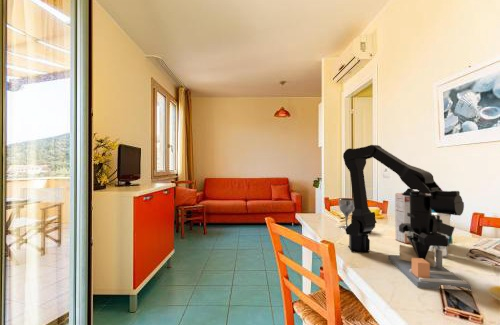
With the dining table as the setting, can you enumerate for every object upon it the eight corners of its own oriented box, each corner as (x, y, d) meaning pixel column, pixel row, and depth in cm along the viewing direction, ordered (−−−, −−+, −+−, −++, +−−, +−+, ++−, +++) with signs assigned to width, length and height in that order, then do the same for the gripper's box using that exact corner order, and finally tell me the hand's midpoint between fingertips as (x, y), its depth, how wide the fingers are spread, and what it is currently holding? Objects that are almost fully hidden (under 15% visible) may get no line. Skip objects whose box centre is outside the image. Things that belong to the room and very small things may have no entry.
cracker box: (420, 238, 117) (420, 192, 117) (432, 242, 111) (432, 193, 111) (394, 239, 114) (394, 192, 114) (405, 244, 108) (405, 194, 108)
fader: (417, 277, 72) (417, 262, 72) (411, 272, 75) (411, 257, 75) (429, 278, 71) (429, 263, 71) (422, 272, 75) (422, 258, 75)
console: (417, 287, 70) (417, 261, 70) (388, 259, 90) (388, 239, 90) (471, 291, 68) (471, 264, 68) (428, 261, 88) (428, 241, 88)
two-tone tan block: (434, 266, 80) (434, 251, 80) (434, 267, 79) (434, 252, 79) (400, 258, 87) (400, 244, 87) (399, 258, 86) (399, 245, 86)
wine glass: (357, 229, 131) (357, 200, 131) (341, 229, 131) (341, 200, 131) (351, 225, 138) (351, 198, 139) (336, 225, 139) (336, 198, 139)
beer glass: (453, 258, 91) (454, 216, 91) (431, 256, 93) (431, 214, 93) (444, 252, 98) (445, 213, 98) (423, 250, 99) (424, 211, 100)
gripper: (469, 216, 70) (471, 275, 69) (433, 207, 88) (434, 253, 87) (424, 215, 72) (426, 272, 71) (398, 206, 90) (399, 251, 89)
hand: (421, 261), depth 80 cm, fingers closed
